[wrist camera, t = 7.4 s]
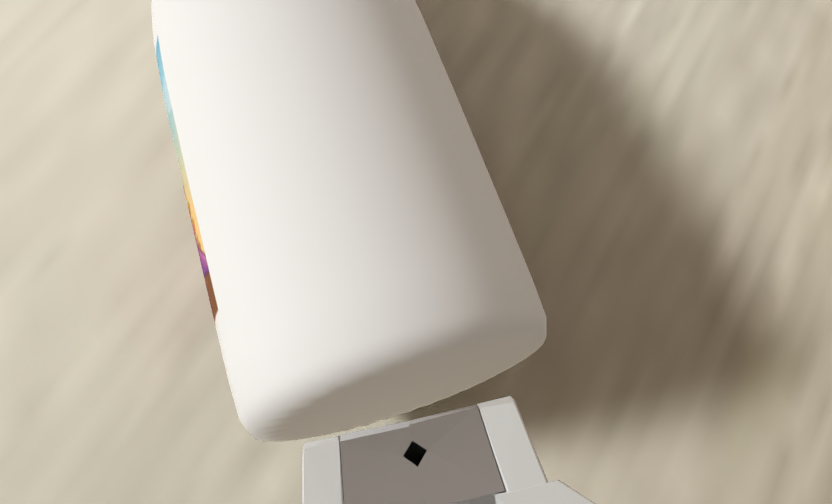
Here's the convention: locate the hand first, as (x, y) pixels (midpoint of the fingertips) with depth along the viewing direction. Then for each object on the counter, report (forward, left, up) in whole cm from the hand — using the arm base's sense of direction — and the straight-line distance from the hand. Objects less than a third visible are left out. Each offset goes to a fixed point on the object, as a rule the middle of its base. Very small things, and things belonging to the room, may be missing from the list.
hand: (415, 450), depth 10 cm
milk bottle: (+1, -1, -7) cm, 7 cm away
